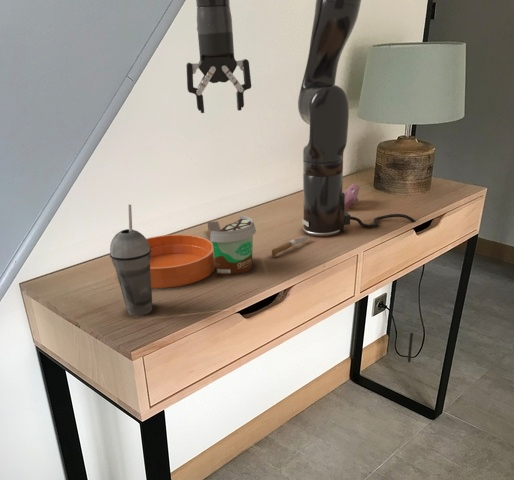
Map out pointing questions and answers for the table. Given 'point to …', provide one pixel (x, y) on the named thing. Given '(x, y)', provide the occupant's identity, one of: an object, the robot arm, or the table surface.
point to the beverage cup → (133, 268)
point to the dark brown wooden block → (213, 227)
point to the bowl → (180, 260)
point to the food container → (234, 247)
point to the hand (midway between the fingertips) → (221, 111)
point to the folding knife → (288, 245)
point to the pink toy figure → (351, 195)
